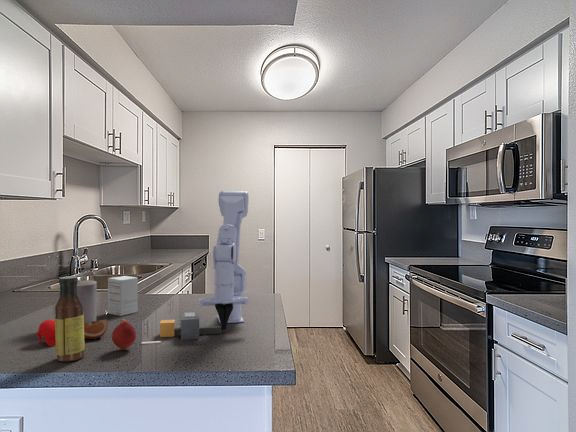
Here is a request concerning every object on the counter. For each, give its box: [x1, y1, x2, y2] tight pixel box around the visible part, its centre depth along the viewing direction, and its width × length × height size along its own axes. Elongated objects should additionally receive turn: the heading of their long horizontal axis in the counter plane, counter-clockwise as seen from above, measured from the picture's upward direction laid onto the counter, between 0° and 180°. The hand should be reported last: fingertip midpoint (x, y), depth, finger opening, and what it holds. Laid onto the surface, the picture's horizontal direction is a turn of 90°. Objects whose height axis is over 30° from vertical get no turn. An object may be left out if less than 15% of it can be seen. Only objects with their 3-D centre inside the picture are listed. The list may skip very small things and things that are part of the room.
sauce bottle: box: [54, 275, 85, 363], centre depth 103 cm, size 6×6×20 cm
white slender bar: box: [140, 340, 162, 345], centre depth 116 cm, size 1×5×1 cm, turn 105°
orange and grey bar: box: [159, 319, 222, 338], centre depth 125 cm, size 18×4×4 cm, turn 103°
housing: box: [179, 310, 200, 341], centre depth 125 cm, size 11×5×6 cm, turn 15°
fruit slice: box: [84, 318, 109, 340], centre depth 120 cm, size 8×7×5 cm
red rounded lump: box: [111, 318, 137, 351], centre depth 110 cm, size 6×6×8 cm
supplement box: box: [107, 275, 139, 317], centre depth 151 cm, size 7×7×13 cm
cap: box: [35, 319, 56, 347], centre depth 115 cm, size 8×6×6 cm
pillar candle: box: [77, 278, 98, 323], centre depth 133 cm, size 10×10×15 cm
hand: (223, 328), depth 128 cm, fingers closed
